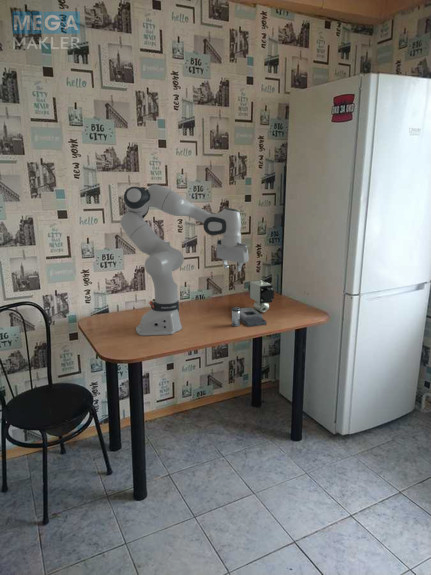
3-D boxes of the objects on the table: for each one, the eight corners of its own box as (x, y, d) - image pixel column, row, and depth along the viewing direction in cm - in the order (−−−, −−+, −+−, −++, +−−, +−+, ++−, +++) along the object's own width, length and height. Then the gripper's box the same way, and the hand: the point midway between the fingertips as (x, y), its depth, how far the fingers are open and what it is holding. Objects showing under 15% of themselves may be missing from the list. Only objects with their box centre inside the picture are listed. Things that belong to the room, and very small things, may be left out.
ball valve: (275, 314, 228) (276, 282, 224) (262, 316, 225) (262, 284, 221) (260, 305, 244) (261, 276, 240) (247, 307, 241) (247, 277, 237)
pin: (233, 327, 208) (233, 310, 206) (230, 324, 212) (230, 307, 210) (241, 326, 209) (241, 309, 207) (238, 323, 214) (238, 306, 211)
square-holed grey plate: (247, 326, 208) (248, 319, 208) (234, 315, 227) (234, 308, 226) (266, 324, 211) (266, 318, 210) (251, 313, 230) (251, 307, 229)
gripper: (251, 243, 198) (251, 271, 201) (223, 239, 213) (224, 265, 217) (241, 244, 194) (242, 273, 197) (214, 240, 209) (214, 267, 213)
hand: (232, 269), depth 207 cm, fingers open, 8 cm apart
